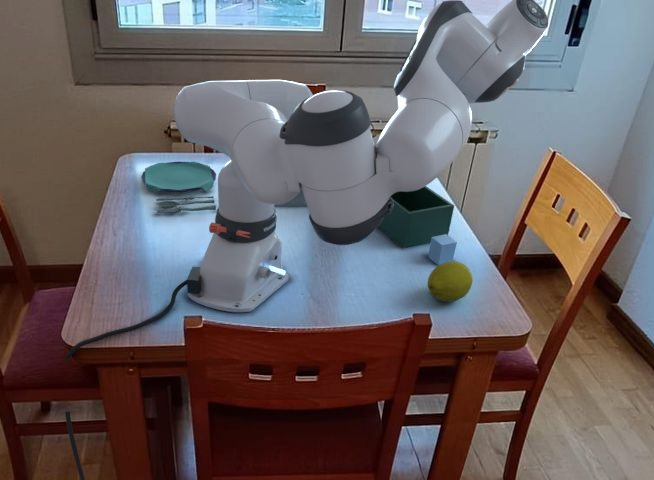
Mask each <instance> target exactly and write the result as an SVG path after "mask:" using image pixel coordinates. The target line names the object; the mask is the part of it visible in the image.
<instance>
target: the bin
mask: <svg viewBox="0 0 654 480" xmlns="http://www.w3.org/2000/svg"><path fill="white" fill-rule="evenodd" d="M391 198H392V199H393V202H394V206H393V209H392V212H391V213H390V214H389V215H388V216H386V217H384V218H383V220H382V222H381V224H380V226H379V227H378V228H377V229H379V230H380V231H381V232H383V234H385V235H386V236H387V237H389V238H390V239H391V240H392V241H393V242H395V243H396V244H397V245H398V246H400V247H401V249H406V248H412V247H416V246H422V245H426V244H430V242H431V237H435V236H440V235H445V234H447V235H448V236H449V234H450V233H449V232H450V228H451V224H452V223H451V222H452V218H453V214H454V209H455V204H453V203H452V202H451V201H449V200H448V199H446V198H444V197H443V196H441V195H440V194H438V193H437V192H435V191H434V190H432V189H431V188H430V187H428V186H427V185H426V186H425V187H423V188H421V189H419V190H416V191H410V192H403V191H399V192H396V193H394V194H392V195H391ZM388 209H390V208H388Z"/></svg>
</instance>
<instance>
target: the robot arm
mask: <svg viewBox="0 0 654 480" xmlns="http://www.w3.org/2000/svg"><path fill="white" fill-rule="evenodd" d="M549 21H550V20H549V18H548V15H547V13H546V11H545V10H544V9H543V8H542V7H541V6H540V5H539V3H537V2H536V1H535V0H511V1H510V2H508V3H507V4H506V5H505V6H504V7H502V9H500V10H499V11H498V12H497V13H496V14H495V15H494V16H493V17H492V18H491V19H490V21H489V22H488V23H487V24H486V25H485V24H483V23H482V21H481V20H479V19H478V18H477V17H476V16H475V15H474V13H473V11H471V9H469V8H468V6H467V5H466V4H465V3H464V2H463V0H443V1H442V2H441V3H439V4H437V5H435V7H433V8H432V9H431V10H430V11H429V13H428V14H427V15H426V16H425V18H424V19H423V21H422V22H421V24H420V27H419V29H418V31H417V35H416V37H415V40H414V41H413V42H414V43H413V44H412V46H411V48H410V50H409V52H408V54H407V55H406V57H405V59H404V61H403V63H402V65H401V67H400V69H399V71H398V73H397V76H396V78H395V81H394V84H393V90H394V94H395V97H396V103H397V110H396V111H395V113H393V114H392V116H391V118H390V119H389V120H388V122H387V123H386V125H385V126H384V128H383V130H382V131H381V132H380V133H379V134H377V135H376V136H374V137H373V134H372V130H371V123H372V120H371V116H370V114H369V111H368V108H367V106H366V104H365V102H364V100H363V98H362V97H361V96H359V95H358V94H355V93H354V92H352V91H348V90H341V89H339V90H336V89H335V90H326V91H325V90H324V91H321V92H319V93H315V94H313V93H312V91H311V89H310V88H309V87H308V86H307V85H306V84H304V83H299V82H295V81H289V80H285V79H284V80H283V79H255V80H254V79H252V80H251V79H247V80H209V81H203V82H199V83H195V84H191V85H186V86H184V87H183V88H182V89H181V90H180V92H178V95H176V99H175V102H174V105H173V118H174V122H175V125H176V128H177V130H178V132H179V133H180V135H181V137H183V138H184V140H186V141H187V142H188V143H191V144H192V143H193V144H197V145H200V146H203V147H208V148H210V149H213V150H216V151H217V152H219V153H221V154H222V155H225V156H227V157H229V159H230V160H229V161H227V162H226V163H225V164H224V165H223V166H222V168H221V169H220V171H219V173H218V177H217V195H218V196H217V197H218V198H217V199H218V200H217V202H218V207H217V208H216V214H215V217H214V221H213V222H210V224H209V227H208V230H209V233H210V234H212V236H211V238H210V241H209V243H208V245H207V248H206V250H205V253H204V255H203V258H202V261H201V263H200V266H192V267H191V269H190V271H189V273H188V276H187V278H186V279H185V280H184V281H182V282H181V283H179V284H178V285H177V286H176V287H175V289H174V290H173V292H172V294H171V298H170V302H169V303H168V304H167V305H166V307H165V308H164V309H163V310H161V312H159V313H158V314H156V315H154V316H152V317H150V318H148V319H145V320H143V321H141V322H139V323H135V324H133V325H130V326H127V327H122V328H119V329H115V330H110V331H108V332H105V333H102V334H99V335H95V336H94V337H90V338H87V339H84V340H81V341H80V342H78V343H76V344H75V345H74V346H72V348H70V350H69V351H68V352H67V353H66V356H65V357H64V360H70V359H71V357H72V356H73V355H74V353H75V352H76V351H77V350H78V349H80V348H82V347H83V346H86V345H89V344H92V343H95V342H98V341H101V340H103V339H105V338H109V337H112V336H116V335H121V334H124V333H127V332H132V331H135V330H137V329H140V328H142V327H144V326H147V325H149V324H151V323H153V322H156V321H157V320H159V319H161V318H162V317H163V316H165V315H166V314H168V312H169V311H171V309H172V308H173V307H174V305H175V303H176V299H177V295H178V293H179V292H180V291H181V289H183V288H184V287H186V288H187V297H188V298H189V299H191V301H193V302H195V303H197V304H199V305H201V306H205V307H207V308H209V309H215V310H217V311H222V312H223V311H224V312H230V313H250V312H252V311H254V310H255V309H256V308H257V307H258V306H260V305H261V304H262V303H263V302H264V301H266V300H267V299H268V298H269V297H270V296H271V295H273V294H274V293H275V292H276V291H278V290H279V289H280V288H281V287H282V286H283V285H285V284H286V283H287V282H288V281H289V280H290V279H289V274H288V273H287V272H286V270H284V264H283V263H284V262H283V243H282V240H281V239H280V238H279V236H278V234H277V232H276V228H277V220H278V218H277V210H276V208H275V206H276V205H278V204H283V203H286V202H289V201H291V200H292V199H294V198H295V197H296V196H297V195H298V194H299V193H300V192H301V190H303V194H304V198H305V201H306V204H307V206H306V207H307V210H308V212H309V213H308V219H309V221H310V224H311V226H312V228H313V230H314V232H315V234H316V235H317V236H318V238H319V239H320V240H321V241H323V242H324V243H328V244H330V245H335V246H349V245H355V244H357V243H360V242H363V241H364V240H365V239H367V238H368V237H369V236H371V235H372V234H373V233H374V232H375V231H376V230H377V229H379V228H378V227H379V226H380V224H381V222H382V220H383V218H384V217H386V216H388V215H389V214H390V213H391V212H392V209H393V206H394V202H393V199H392V198H391V195H392V194H394V193H396V192H399V191H403V192H410V191H416V190H419V189H421V188H423V187H425V186H426V187H427V186H428V185H429V184H430V183H432V182H433V181H434V180H436V179H437V178H438V177H440V175H442V174H443V173H444V172H445V171H446V170H447V169H448V168H449V167H450V166H451V164H453V162H454V161H455V159H456V158H457V157H458V156H459V155H460V153H461V151H462V150H463V148H464V147H465V145H466V143H467V141H468V139H469V137H470V134H471V131H472V126H473V125H472V124H473V115H472V109H471V104H480V103H482V104H483V103H492V102H494V101H497V100H498V99H500V98H501V97H502V96H503V95H505V93H507V91H509V89H510V88H512V87H514V86H515V85H517V84H518V83H519V78H520V77H521V76H522V74H523V72H524V70H525V65H526V56H527V55H528V54H529V53H530V52H531V51H532V49H533V48H534V47H535V46H536V45H537V44H538V42H539V41H540V40H541V39H542V37H544V36H543V35H544V34H545V33H546V31H547V30H548V28H549V26H550V22H549ZM388 208H390V209H388ZM64 414H65V422H66V427H67V433H68V437H69V442H70V445H71V446H70V447H71V450H72V454H73V457H74V461H75V465H76V469H77V472H78V476H79V480H86V479H85V475H84V472H83V466H82V463H81V459H80V456H79V452H78V447H77V444H76V440H75V435H74V430H73V424H72V423H73V422H72V418H71V411H70V410H69V411H64Z"/></svg>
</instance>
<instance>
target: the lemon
mask: <svg viewBox="0 0 654 480" xmlns="http://www.w3.org/2000/svg"><path fill="white" fill-rule="evenodd" d="M472 284H473V275H472V272H471V269H469V267H468V266H467V265H466V264H465V263H463V262H460V261H458V260H457V261H455V260H453V261H449V262H445V263H442V264H440V265H437V266H436V267H435V268H434V269H433V270H432V271H431V272H430V274H429V275H428V278H427V288H428V292H429V293H430V294H431V296H433V297H434V298H435V299H437V300H438V301H441V302H447V303H448V302H449V303H450V302H456V301H459V300H460V299H462V298H464V297H465V296H466V295H467V294H468V293H469V292H470V290H471V288H472Z"/></svg>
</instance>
